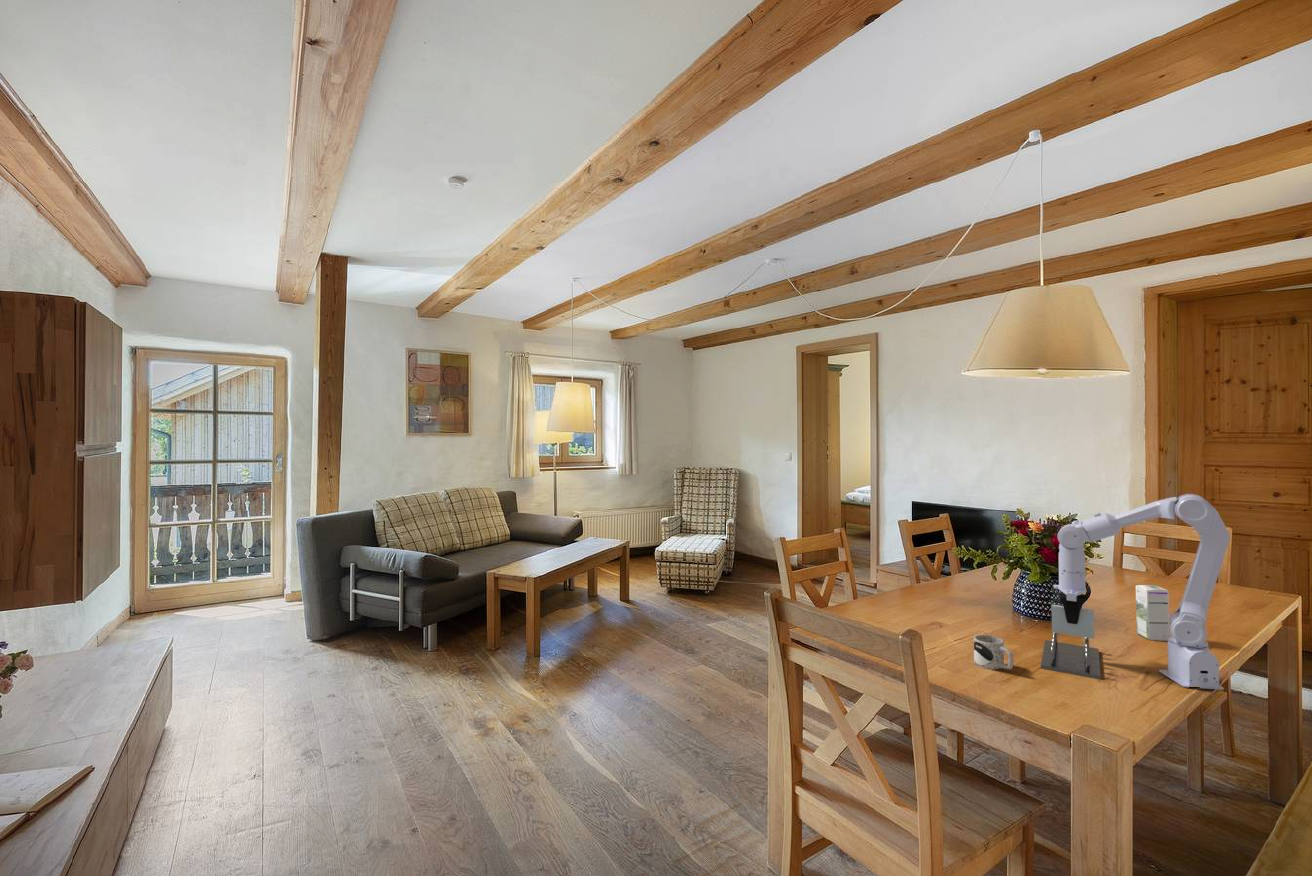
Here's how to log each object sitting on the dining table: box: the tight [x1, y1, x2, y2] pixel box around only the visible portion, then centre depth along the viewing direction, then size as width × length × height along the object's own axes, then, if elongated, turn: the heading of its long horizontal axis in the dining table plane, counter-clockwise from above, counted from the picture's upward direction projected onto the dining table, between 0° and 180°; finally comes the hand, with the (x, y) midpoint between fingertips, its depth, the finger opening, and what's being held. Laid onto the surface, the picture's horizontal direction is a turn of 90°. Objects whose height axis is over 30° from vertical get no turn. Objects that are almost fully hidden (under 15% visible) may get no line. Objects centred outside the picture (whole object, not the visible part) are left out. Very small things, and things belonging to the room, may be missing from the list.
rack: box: [1040, 632, 1102, 680], centre depth 152 cm, size 22×12×5 cm, turn 144°
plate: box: [1051, 604, 1095, 639], centre depth 154 cm, size 2×9×7 cm, turn 53°
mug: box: [973, 634, 1015, 671], centre depth 148 cm, size 10×7×7 cm
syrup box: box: [1135, 584, 1171, 642], centre depth 168 cm, size 6×6×14 cm
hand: (1072, 622), depth 154 cm, fingers closed on plate, 2 cm apart
